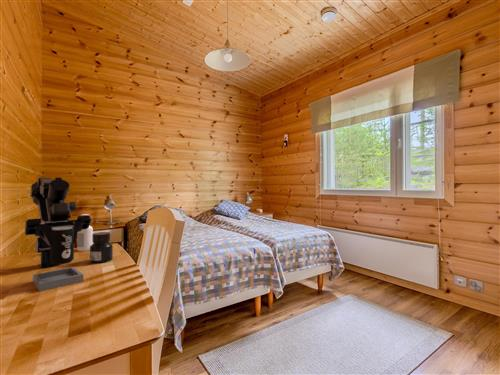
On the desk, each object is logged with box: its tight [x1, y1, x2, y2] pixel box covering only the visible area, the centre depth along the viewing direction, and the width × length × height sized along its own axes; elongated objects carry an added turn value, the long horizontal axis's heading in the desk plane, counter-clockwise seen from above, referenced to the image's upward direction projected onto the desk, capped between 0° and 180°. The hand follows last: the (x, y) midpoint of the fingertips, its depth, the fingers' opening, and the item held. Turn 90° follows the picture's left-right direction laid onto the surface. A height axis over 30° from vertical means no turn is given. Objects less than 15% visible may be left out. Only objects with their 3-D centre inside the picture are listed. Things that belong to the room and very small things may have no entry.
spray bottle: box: [76, 213, 94, 252], centre depth 134 cm, size 7×7×18 cm
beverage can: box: [50, 226, 75, 266], centre depth 91 cm, size 7×7×12 cm
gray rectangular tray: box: [32, 266, 84, 292], centre depth 91 cm, size 12×12×2 cm
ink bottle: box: [89, 231, 114, 264], centre depth 116 cm, size 10×9×12 cm
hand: (63, 244), depth 90 cm, fingers closed on beverage can, 6 cm apart
